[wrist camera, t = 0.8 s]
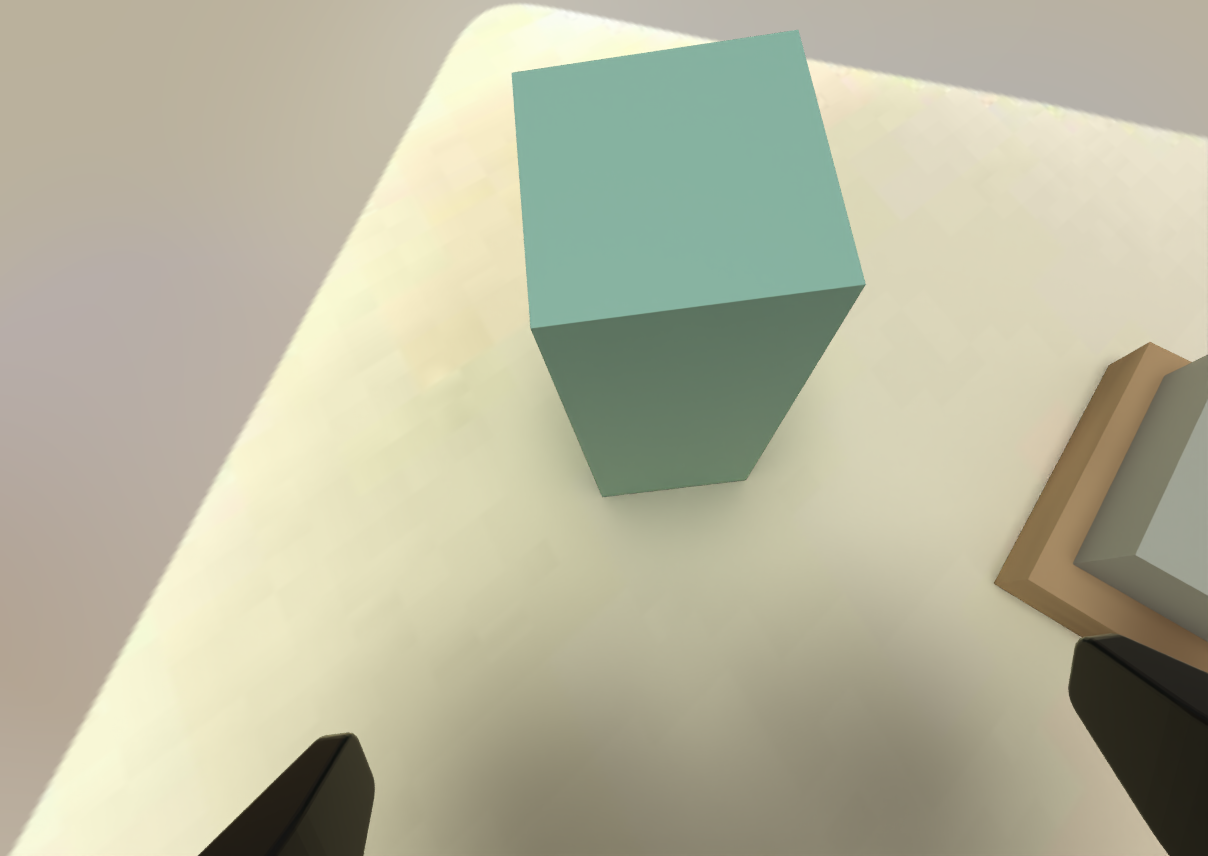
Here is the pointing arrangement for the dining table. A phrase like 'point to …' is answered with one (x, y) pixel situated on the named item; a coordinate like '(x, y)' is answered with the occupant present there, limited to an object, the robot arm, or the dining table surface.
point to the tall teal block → (681, 252)
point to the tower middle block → (1160, 507)
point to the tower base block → (1071, 507)
